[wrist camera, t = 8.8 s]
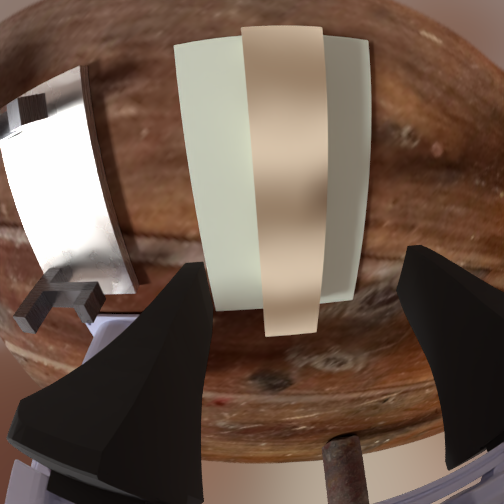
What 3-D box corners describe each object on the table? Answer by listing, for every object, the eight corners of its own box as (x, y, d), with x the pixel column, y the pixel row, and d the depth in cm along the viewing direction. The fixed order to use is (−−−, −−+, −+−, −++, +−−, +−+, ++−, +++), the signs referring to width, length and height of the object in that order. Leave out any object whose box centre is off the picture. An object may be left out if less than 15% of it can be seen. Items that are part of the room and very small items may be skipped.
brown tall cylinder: (317, 447, 44) (327, 533, 27) (322, 436, 41) (335, 533, 24) (353, 441, 44) (367, 523, 27) (362, 429, 40) (380, 522, 23)
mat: (350, 295, 22) (352, 299, 22) (216, 306, 22) (216, 311, 22) (364, 41, 12) (368, 40, 11) (176, 46, 12) (173, 45, 12)
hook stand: (139, 285, 21) (111, 353, 15) (59, 287, 21) (25, 341, 16) (87, 66, 12) (14, 67, 6) (3, 110, 12) (-61, 133, 7)
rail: (308, 298, 21) (316, 332, 18) (263, 302, 21) (265, 336, 18) (306, 40, 12) (322, 27, 9) (242, 41, 12) (241, 27, 9)
